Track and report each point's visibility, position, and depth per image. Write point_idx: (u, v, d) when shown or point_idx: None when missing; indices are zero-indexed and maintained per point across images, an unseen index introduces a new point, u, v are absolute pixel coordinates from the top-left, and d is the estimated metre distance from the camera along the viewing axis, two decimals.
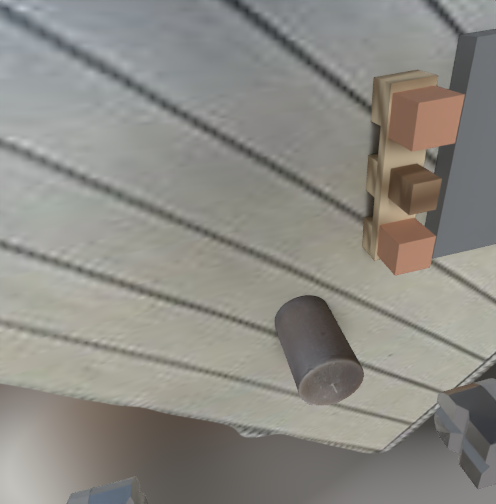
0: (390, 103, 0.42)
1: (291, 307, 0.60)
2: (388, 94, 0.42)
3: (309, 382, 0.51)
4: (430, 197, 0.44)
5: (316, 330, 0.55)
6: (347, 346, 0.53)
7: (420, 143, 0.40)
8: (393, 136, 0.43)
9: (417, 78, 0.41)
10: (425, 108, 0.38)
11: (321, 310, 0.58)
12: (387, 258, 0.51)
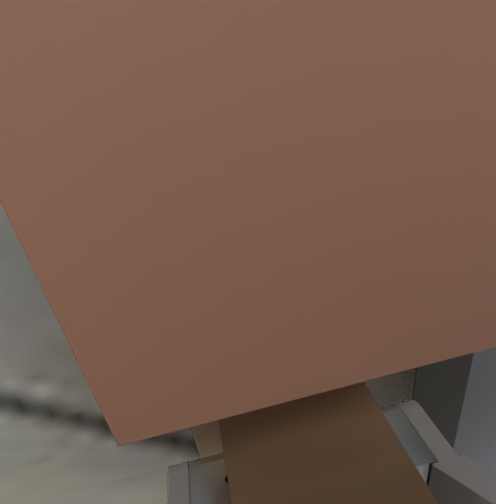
0: None
1: None
2: None
3: None
4: None
5: None
6: None
7: (187, 372, 0.03)
8: None
9: None
10: None
11: None
12: None
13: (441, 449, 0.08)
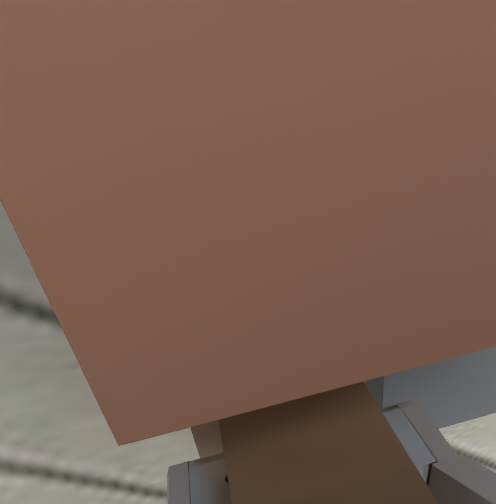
0: None
1: None
2: None
3: None
4: None
5: None
6: None
7: (188, 372, 0.04)
8: None
9: None
10: None
11: None
12: None
13: (441, 449, 0.08)
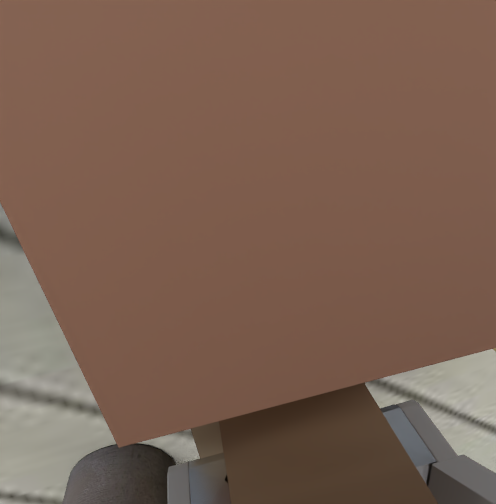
0: None
1: (82, 472, 0.31)
2: None
3: None
4: None
5: None
6: None
7: (188, 374, 0.03)
8: None
9: None
10: None
11: (132, 483, 0.30)
12: None
13: (441, 449, 0.08)
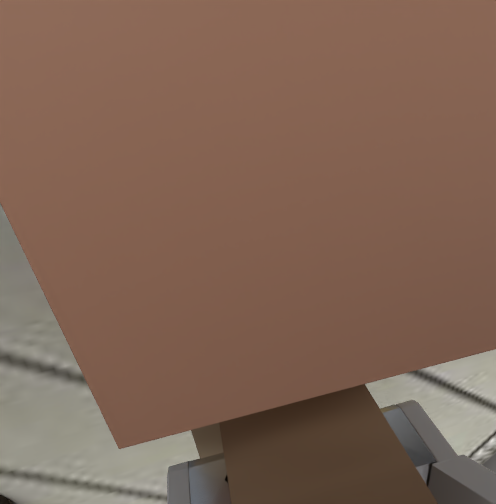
0: None
1: None
2: None
3: None
4: None
5: None
6: None
7: (188, 375, 0.03)
8: None
9: None
10: None
11: None
12: None
13: (441, 449, 0.08)
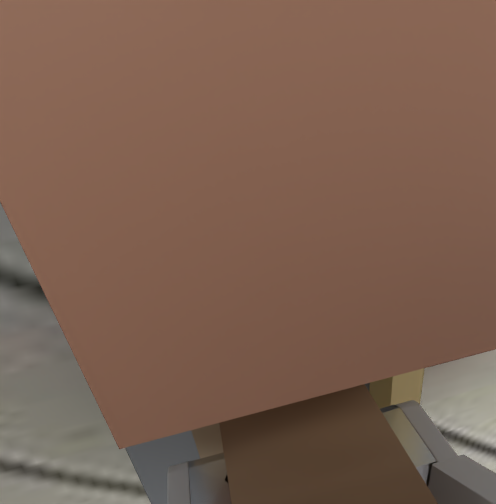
0: None
1: None
2: None
3: None
4: None
5: None
6: None
7: (188, 375, 0.03)
8: None
9: None
10: None
11: None
12: None
13: (441, 449, 0.08)
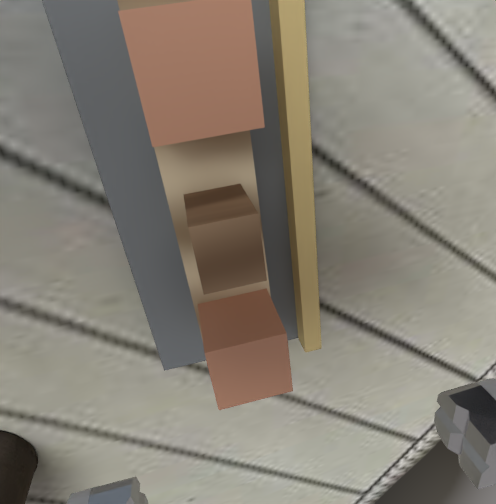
0: None
1: None
2: None
3: None
4: (244, 256, 0.20)
5: None
6: None
7: (168, 126, 0.16)
8: None
9: None
10: (145, 28, 0.14)
11: None
12: None
13: None
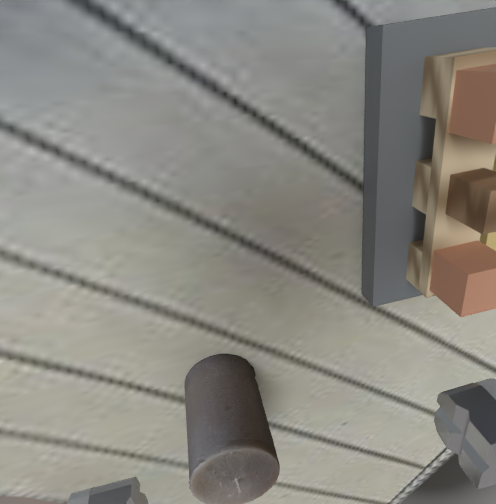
0: (452, 85, 0.31)
1: (200, 370, 0.47)
2: (449, 73, 0.31)
3: (202, 478, 0.38)
4: None
5: (220, 402, 0.42)
6: (258, 425, 0.41)
7: None
8: (457, 129, 0.32)
9: (488, 51, 0.31)
10: None
11: (235, 374, 0.46)
12: (446, 294, 0.39)
13: None
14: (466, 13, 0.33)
